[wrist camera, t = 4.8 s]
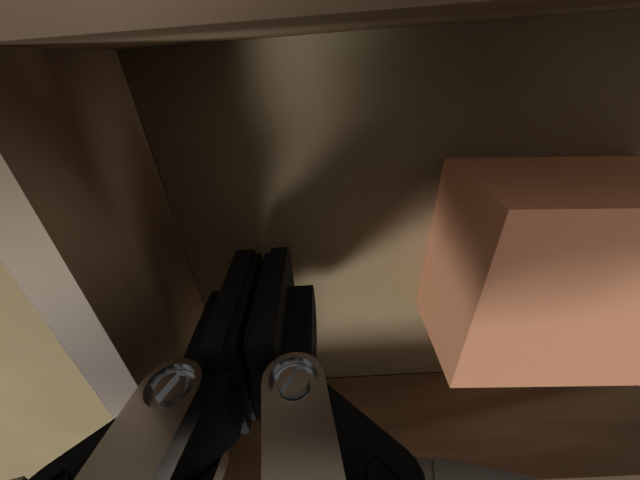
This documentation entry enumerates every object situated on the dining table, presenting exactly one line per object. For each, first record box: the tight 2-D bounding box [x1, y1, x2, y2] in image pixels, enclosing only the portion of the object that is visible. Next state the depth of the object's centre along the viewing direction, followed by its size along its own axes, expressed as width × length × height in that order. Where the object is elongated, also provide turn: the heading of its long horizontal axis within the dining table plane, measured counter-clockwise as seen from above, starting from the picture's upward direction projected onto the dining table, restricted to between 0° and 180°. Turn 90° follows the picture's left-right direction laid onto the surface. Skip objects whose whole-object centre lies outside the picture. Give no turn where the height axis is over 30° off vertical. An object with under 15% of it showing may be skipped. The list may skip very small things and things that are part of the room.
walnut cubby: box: [0, 0, 640, 480], centre depth 10 cm, size 16×20×4 cm
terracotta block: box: [416, 156, 640, 388], centre depth 10 cm, size 6×6×4 cm
